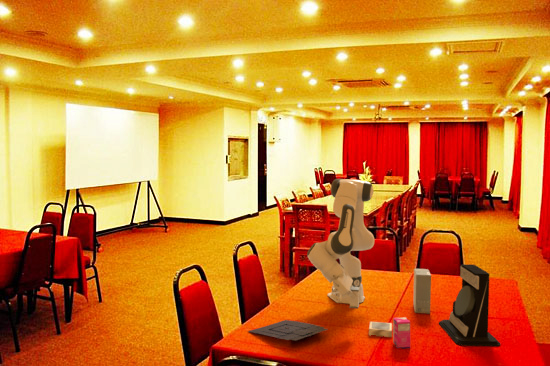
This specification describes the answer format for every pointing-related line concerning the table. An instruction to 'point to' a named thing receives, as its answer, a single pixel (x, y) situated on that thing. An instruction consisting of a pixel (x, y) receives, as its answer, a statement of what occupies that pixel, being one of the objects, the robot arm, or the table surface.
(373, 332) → the oak stand
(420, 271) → the hard drive box
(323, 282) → the table surface
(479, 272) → the award
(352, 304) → the plate
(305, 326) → the dark grey panelled slab
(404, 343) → the supplement box
